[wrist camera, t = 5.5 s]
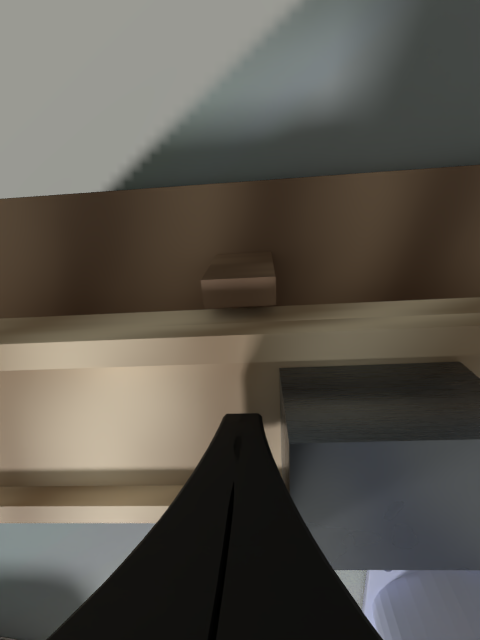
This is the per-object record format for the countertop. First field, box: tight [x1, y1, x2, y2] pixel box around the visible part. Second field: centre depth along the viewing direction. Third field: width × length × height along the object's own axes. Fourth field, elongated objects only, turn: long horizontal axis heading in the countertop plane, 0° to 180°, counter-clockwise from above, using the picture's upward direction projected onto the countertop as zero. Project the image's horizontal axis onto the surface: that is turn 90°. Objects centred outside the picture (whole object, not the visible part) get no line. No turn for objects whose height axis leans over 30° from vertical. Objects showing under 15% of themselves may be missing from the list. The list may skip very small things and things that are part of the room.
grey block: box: [279, 362, 480, 570], centre depth 9 cm, size 5×4×3 cm
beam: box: [0, 297, 480, 523], centre depth 10 cm, size 27×7×2 cm, turn 94°
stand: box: [0, 165, 480, 319], centre depth 13 cm, size 30×14×4 cm, turn 94°
